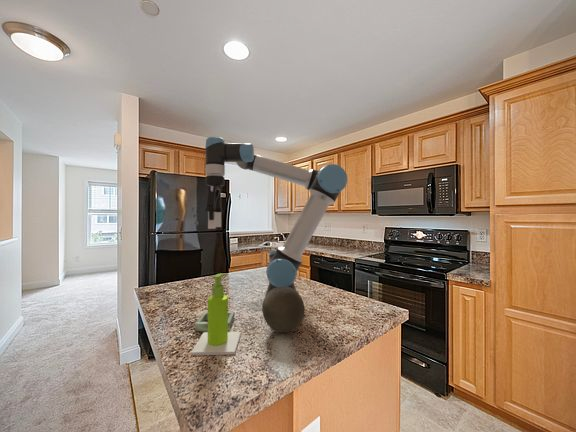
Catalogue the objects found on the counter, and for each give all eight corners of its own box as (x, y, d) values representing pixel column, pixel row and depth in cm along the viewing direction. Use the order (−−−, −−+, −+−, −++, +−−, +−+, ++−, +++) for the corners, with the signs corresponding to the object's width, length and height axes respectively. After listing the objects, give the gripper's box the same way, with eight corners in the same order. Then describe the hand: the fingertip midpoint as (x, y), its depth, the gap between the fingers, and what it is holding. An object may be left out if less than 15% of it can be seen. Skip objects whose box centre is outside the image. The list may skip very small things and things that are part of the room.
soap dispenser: (233, 336, 79) (233, 272, 79) (220, 347, 72) (220, 278, 72) (217, 333, 81) (217, 271, 81) (203, 343, 74) (203, 276, 74)
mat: (240, 334, 82) (240, 331, 82) (234, 354, 70) (234, 351, 70) (203, 334, 82) (203, 332, 82) (191, 355, 70) (191, 352, 70)
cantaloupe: (264, 322, 91) (265, 281, 91) (303, 323, 91) (304, 282, 91) (259, 342, 77) (259, 293, 77) (305, 343, 77) (305, 294, 77)
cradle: (234, 318, 95) (234, 311, 95) (229, 330, 85) (229, 323, 85) (203, 318, 95) (203, 311, 95) (194, 331, 84) (194, 323, 84)
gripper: (211, 180, 115) (211, 226, 115) (198, 170, 90) (198, 229, 90) (228, 180, 116) (228, 226, 116) (219, 170, 91) (219, 229, 91)
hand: (215, 227), depth 103 cm, fingers open, 13 cm apart
